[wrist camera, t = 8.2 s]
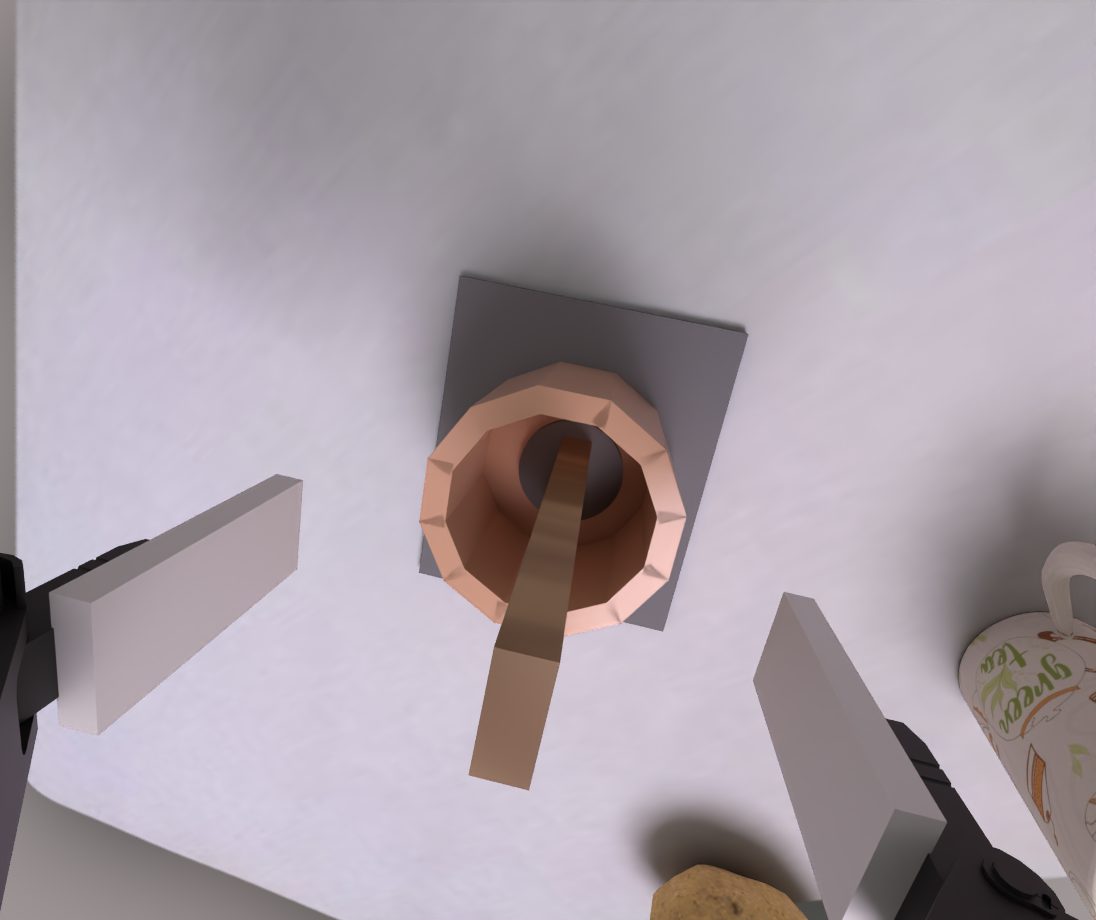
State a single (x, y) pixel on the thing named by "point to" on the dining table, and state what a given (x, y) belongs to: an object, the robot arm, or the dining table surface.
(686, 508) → the mat
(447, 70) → the dining table surface
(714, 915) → the potato
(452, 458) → the jar
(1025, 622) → the mug
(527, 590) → the long wooden stick
